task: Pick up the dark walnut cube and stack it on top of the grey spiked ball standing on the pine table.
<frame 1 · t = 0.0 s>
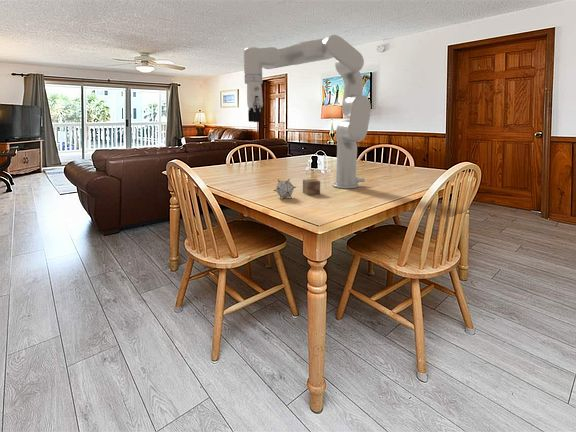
hand: (254, 121, 156), 31 cm above the table, tool pointing down, fingers open, 9 cm apart
walnut cube: (311, 193, 162), on the table
grey spiked ball: (284, 198, 153), on the table
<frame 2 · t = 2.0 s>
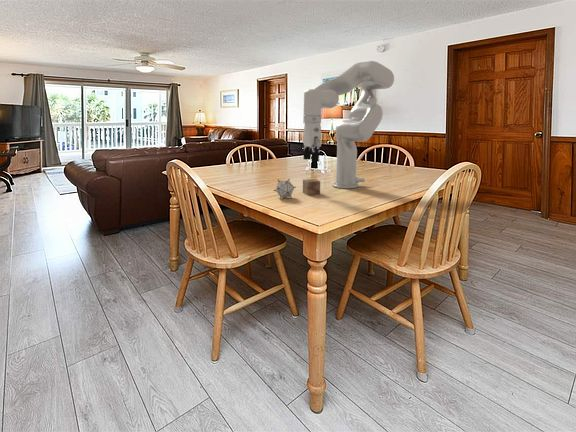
hand: (310, 160, 158), 15 cm above the table, tool pointing down, fingers open, 9 cm apart
nothing on the table moved.
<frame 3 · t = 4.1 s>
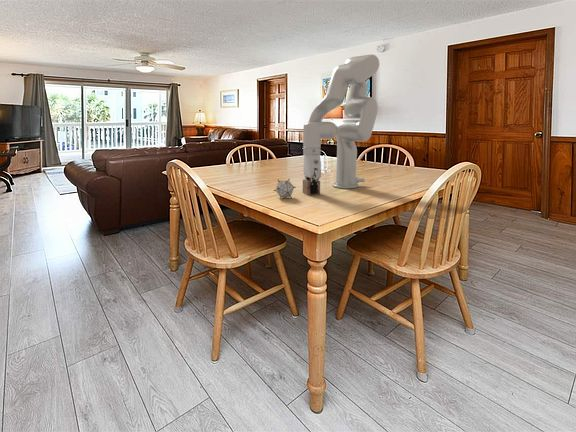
hand: (311, 191, 162), 1 cm above the table, tool pointing down, fingers closed on walnut cube, 6 cm apart
walnut cube: (311, 193, 162), on the table, touching gripper
everything else where it was.
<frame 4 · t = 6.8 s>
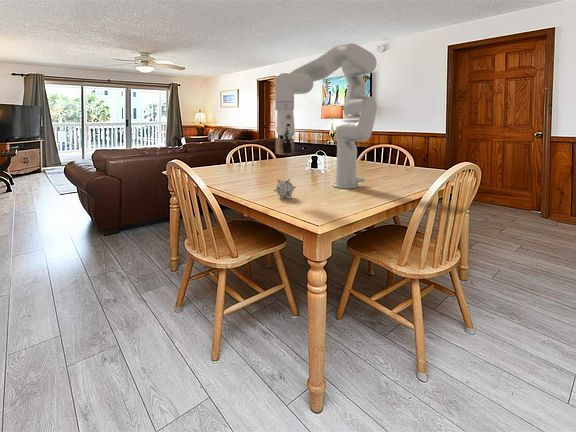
hand: (284, 151, 148), 19 cm above the table, tool pointing down, fingers closed on walnut cube, 6 cm apart
walnut cube: (284, 153, 148), point 19 cm above the table, touching gripper
everything else where it was.
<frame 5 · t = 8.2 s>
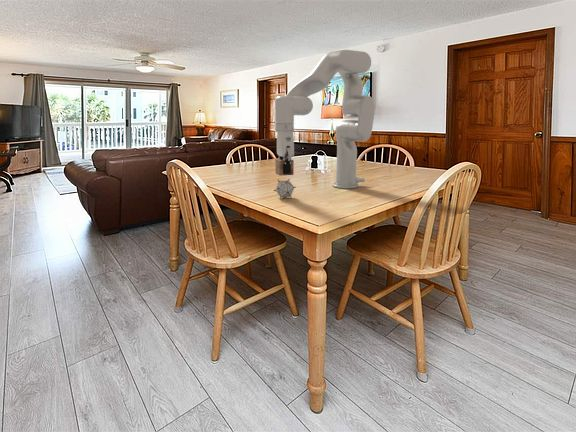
hand: (284, 172, 150), 11 cm above the table, tool pointing down, fingers closed on walnut cube, 6 cm apart
walnut cube: (284, 174, 150), point 10 cm above the table, touching gripper
everything else where it was.
when the fingers open (10 cm above the table, at t = 9.3 s): walnut cube drops 1 cm, resting on grey spiked ball.
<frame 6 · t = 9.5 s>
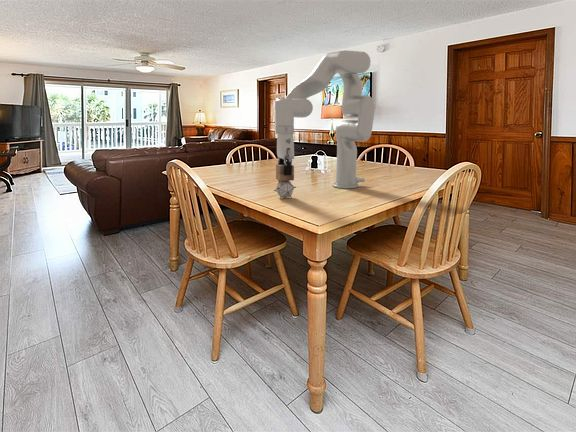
hand: (284, 173, 150), 11 cm above the table, tool pointing down, fingers open, 8 cm apart
walnut cube: (284, 179, 151), point 8 cm above the table, touching grey spiked ball
grey spiked ball: (284, 198, 153), on the table, touching walnut cube
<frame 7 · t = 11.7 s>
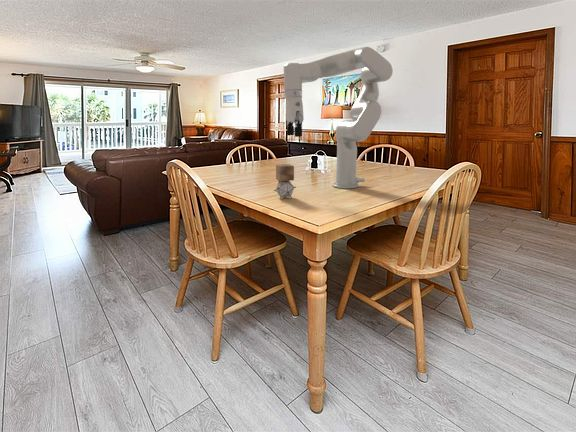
hand: (294, 135, 158), 25 cm above the table, tool pointing down, fingers open, 9 cm apart
nothing on the table moved.
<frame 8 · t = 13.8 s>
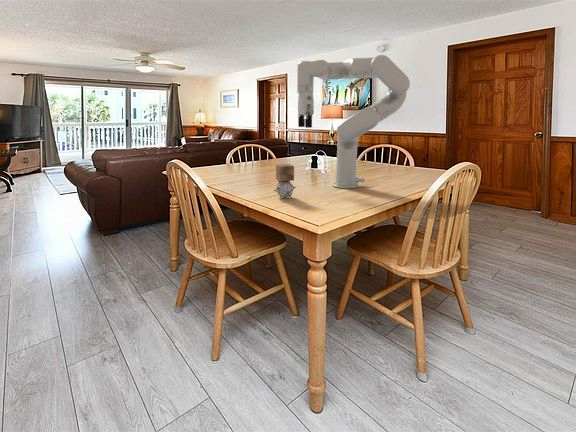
hand: (304, 127, 174), 28 cm above the table, tool pointing down, fingers open, 9 cm apart
nothing on the table moved.
at the end: walnut cube inside the target area on the grey spiked ball (0.1 cm from its centre), point 8.2 cm above the grey spiked ball's base; walnut cube tilted 0°; walnut cube touching grey spiked ball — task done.
